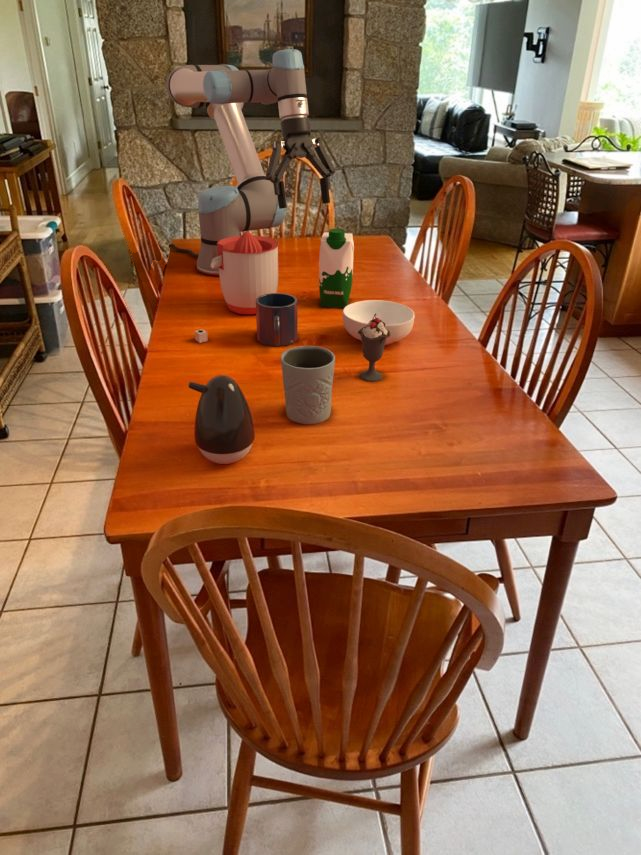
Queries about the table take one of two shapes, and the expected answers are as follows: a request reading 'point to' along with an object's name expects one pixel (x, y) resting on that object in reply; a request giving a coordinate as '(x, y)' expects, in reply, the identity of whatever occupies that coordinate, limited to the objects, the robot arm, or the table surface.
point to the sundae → (373, 346)
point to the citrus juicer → (246, 270)
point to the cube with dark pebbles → (201, 336)
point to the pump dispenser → (223, 421)
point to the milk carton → (336, 268)
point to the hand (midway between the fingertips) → (305, 205)
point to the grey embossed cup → (308, 383)
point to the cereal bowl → (389, 312)
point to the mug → (276, 319)
